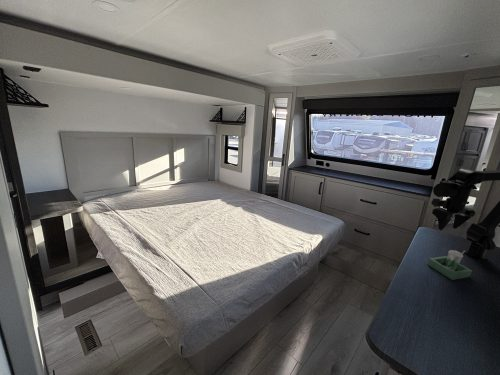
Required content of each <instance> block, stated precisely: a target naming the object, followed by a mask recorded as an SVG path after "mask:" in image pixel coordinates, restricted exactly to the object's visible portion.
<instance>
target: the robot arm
mask: <svg viewBox="0 0 500 375" xmlns="http://www.w3.org/2000/svg"><path fill="white" fill-rule="evenodd" d="M487 181H489V182H490V181H500V169H493V170H492V169H491V170H476V169H474V170H473V169H468V168H460V169H458V170H457V171H456V172H455V173H454V174H453V175H452V176H450V177H449V178H448V179H447V180H446V181H443V180H440V181H439V183H437V184H436V185H434V186H433V188H432V192H433V195H434V196H435V197H439V198H433V199H432V200H431V202H430V204H431V205H432V206H433V207H434V208H433V209H432V211H431V214H432V215H433V216H434V217H435V218H437V225H438V226H437V227H438V231H443V230H444V229H445V228H446V226H447V225H448V224H449V223H450V222H451V220H452V218H453V215H454V219H453V224H452V229H455V230H456V229H458V228H459V227H460V226H461V225H463V224H464V223H466V222H467V221H469V220H470V219H472V218H473V217H475V214H476V212H475V210H474V209H472V208H468V207H466V205H470V201H469V198H470V195H471V193H472V190H475V191H476V190H478V187H477V186H476V185H480V184H482V183H483V182H487ZM440 198H445V199H440ZM499 225H500V200H499V201H498V202H497V203H496V204H495V205H494V207H493V208H492V209H491V210H490V211H489V212H488V214H487V215H486V216H485V217H484V218H483V219H482V221H481V222H479V223H474V222H472V223H471V225H470V226H469V227H468V228H467V229H466V232H465V234H466V240H468V241H469V242H470V244H469V246H468V249H467V250H465V252H464V253H463V254H466V255H467V256H469V257H472V258H473V259H475V260H478V261H480V260H486V259H488V257H487V256H485V255H486V252H487V250H488V251H492V250H493V251H494V250H495V248H497V244H496V243H495V242H494V240H493V239H494V238H495V236H496V228H497V227H498V226H499Z"/></svg>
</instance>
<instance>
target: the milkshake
mask: <svg viewBox="0 0 500 375" xmlns="http://www.w3.org/2000/svg"><path fill="white" fill-rule="evenodd" d="M465 251H466V250H465V249H464V250H463V251H462V252H460V251H457V250H455V249H450V250H448V253H447V260H446V264H445V263H444V266H445V267H447V268H448V269H450V270H452V271H453V272H455V271H457V270H456V268H457V266H458V264H460V263H461V261H462V259H463V258H464V255H463V254H465V253H464V252H465Z"/></svg>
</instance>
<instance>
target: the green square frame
mask: <svg viewBox="0 0 500 375" xmlns="http://www.w3.org/2000/svg"><path fill="white" fill-rule="evenodd" d="M447 257H448V255H447V256H446V255H443V256H439V257H438V256H436V257H429V258H428V261H427V263H426V264H427V265H428V266H429V267H431V268H432V269H434V270H435V271H437V272H439V273H440V274H442V275H444V276H445V277H446V278H448V279H450V280H452V281H454V280H458V279H459V280H460V279H464V278H470V277H471V274H472V273H473V270H472V269H470V268H468V267H466V266H465V265H463V264H460V263H459V264H458V266H457V268H456V270H455V272H453V271H452V270H450V269H448V268H447V267H445V264H446V260H447ZM443 264H444V265H443Z"/></svg>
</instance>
